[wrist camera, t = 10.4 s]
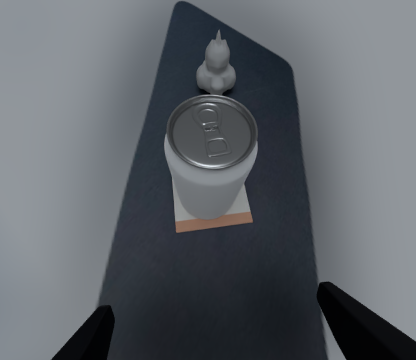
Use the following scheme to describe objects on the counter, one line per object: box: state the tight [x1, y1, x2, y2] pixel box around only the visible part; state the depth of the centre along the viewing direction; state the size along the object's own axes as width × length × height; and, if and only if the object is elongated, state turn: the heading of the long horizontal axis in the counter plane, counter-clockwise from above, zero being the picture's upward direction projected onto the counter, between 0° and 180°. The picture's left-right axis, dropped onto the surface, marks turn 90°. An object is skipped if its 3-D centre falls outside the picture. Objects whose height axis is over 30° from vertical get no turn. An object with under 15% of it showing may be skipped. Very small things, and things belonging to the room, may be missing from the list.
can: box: [164, 94, 258, 220], centre depth 18 cm, size 6×6×12 cm
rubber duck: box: [197, 31, 236, 95], centre depth 26 cm, size 5×7×8 cm
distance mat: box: [172, 178, 253, 233], centre depth 24 cm, size 14×8×1 cm, turn 8°
